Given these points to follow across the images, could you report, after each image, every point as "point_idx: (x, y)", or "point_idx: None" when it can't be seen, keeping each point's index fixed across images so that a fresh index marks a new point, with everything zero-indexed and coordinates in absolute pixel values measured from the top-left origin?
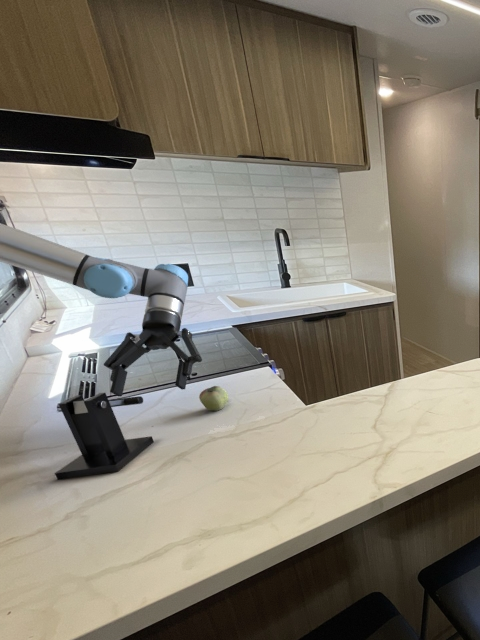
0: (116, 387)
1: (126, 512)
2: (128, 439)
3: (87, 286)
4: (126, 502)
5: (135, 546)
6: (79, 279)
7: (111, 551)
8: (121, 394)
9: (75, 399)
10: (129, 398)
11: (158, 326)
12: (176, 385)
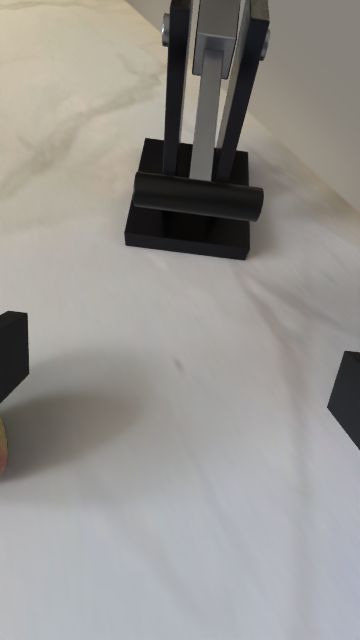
0: (357, 376)
1: (80, 60)
2: (180, 237)
3: None
4: (90, 77)
5: (48, 17)
6: None
7: (70, 19)
8: (331, 405)
9: (248, 8)
10: (170, 176)
11: None
12: (23, 318)
